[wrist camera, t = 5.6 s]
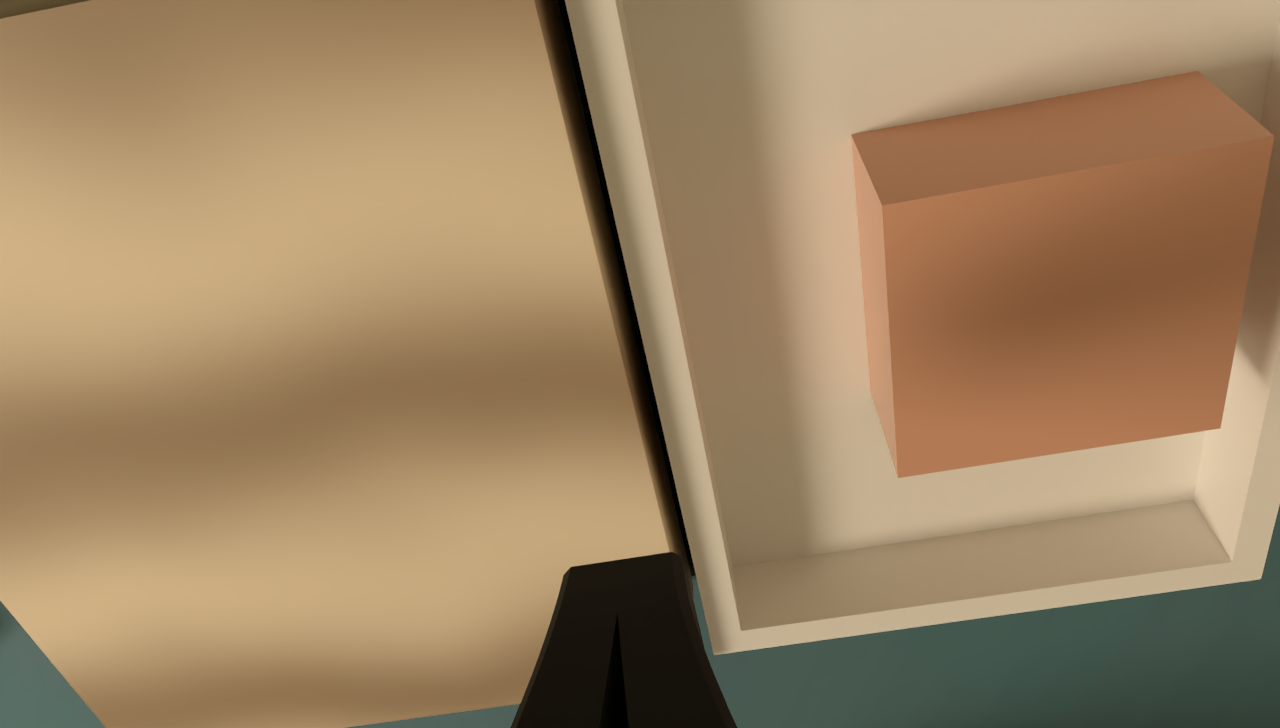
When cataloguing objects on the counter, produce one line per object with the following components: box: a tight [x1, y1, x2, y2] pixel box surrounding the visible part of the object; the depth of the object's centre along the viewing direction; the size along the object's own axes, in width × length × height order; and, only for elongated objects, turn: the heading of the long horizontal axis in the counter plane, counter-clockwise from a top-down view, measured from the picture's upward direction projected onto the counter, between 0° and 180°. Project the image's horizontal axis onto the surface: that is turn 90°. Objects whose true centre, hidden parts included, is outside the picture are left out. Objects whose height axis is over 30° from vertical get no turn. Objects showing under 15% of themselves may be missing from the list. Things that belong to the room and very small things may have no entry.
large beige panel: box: [0, 0, 694, 728], centre depth 17 cm, size 14×12×2 cm
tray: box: [565, 0, 1280, 655], centre depth 17 cm, size 14×10×2 cm
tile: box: [851, 71, 1274, 478], centre depth 16 cm, size 5×5×2 cm
